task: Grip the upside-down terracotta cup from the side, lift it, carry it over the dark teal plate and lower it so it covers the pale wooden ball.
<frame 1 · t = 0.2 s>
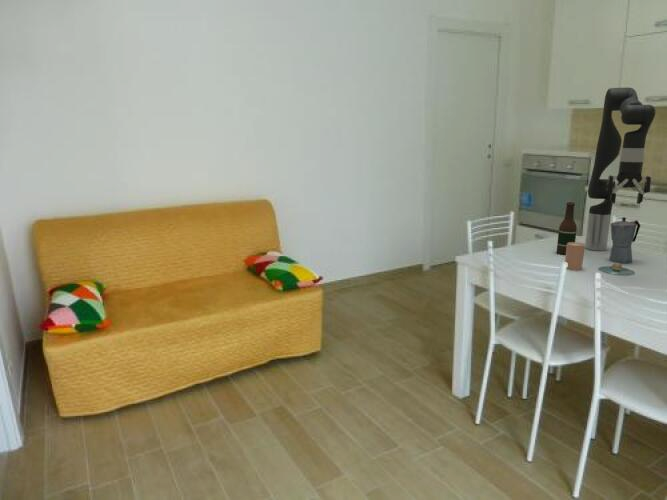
hand: (625, 203, 188), 29 cm above the table, tool pointing down, fingers open, 8 cm apart
beer bottle: (565, 254, 228), on the table
moka pot: (620, 262, 214), on the table
plate: (616, 272, 200), on the table
ball: (616, 270, 199), point 1 cm above the table, touching plate
cup: (572, 269, 204), on the table
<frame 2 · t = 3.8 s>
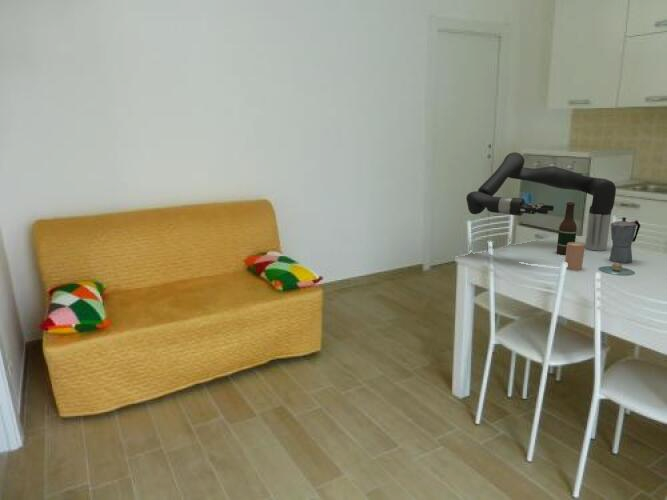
hand: (550, 209, 205), 24 cm above the table, tool horizontal, fingers open, 8 cm apart
nothing on the table moved.
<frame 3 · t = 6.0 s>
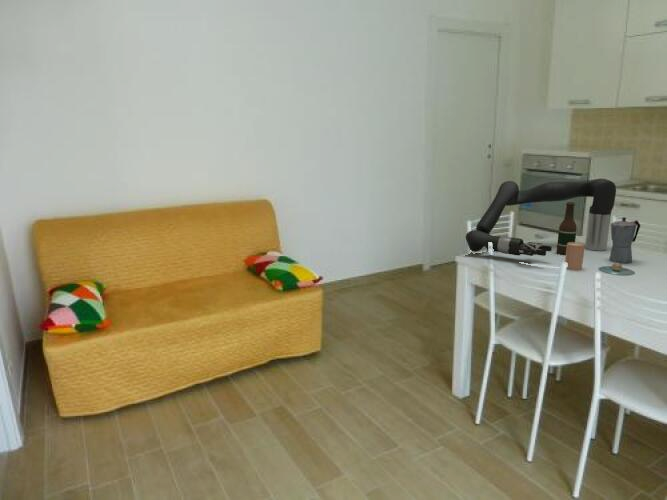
hand: (548, 251, 209), 6 cm above the table, tool horizontal, fingers open, 8 cm apart
nothing on the table moved.
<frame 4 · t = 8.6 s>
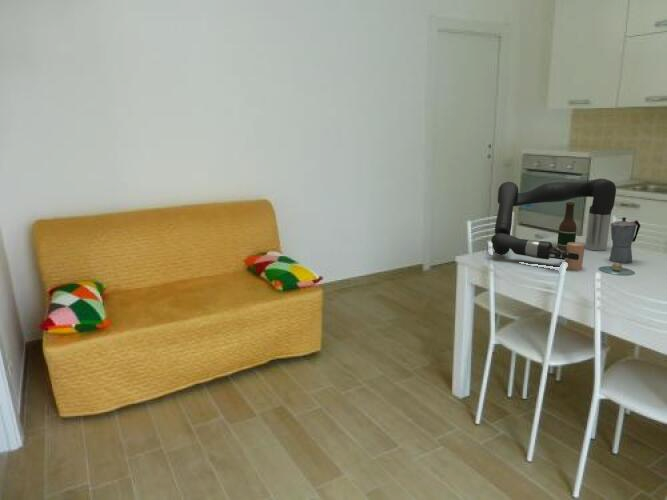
hand: (580, 255, 201), 7 cm above the table, tool horizontal, fingers closed on cup, 6 cm apart
cup: (572, 269, 204), on the table, touching gripper
everything else where it was.
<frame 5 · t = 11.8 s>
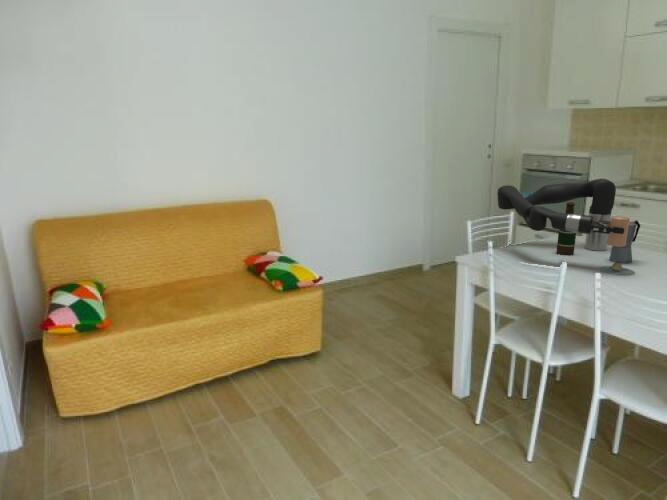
hand: (625, 229, 194), 18 cm above the table, tool horizontal, fingers closed on cup, 6 cm apart
cup: (615, 244, 197), point 12 cm above the table, touching gripper
everything else where it was.
when the fingers open (9 cm above the table, at t = 15.1 s): cup drops 1 cm, resting on plate.
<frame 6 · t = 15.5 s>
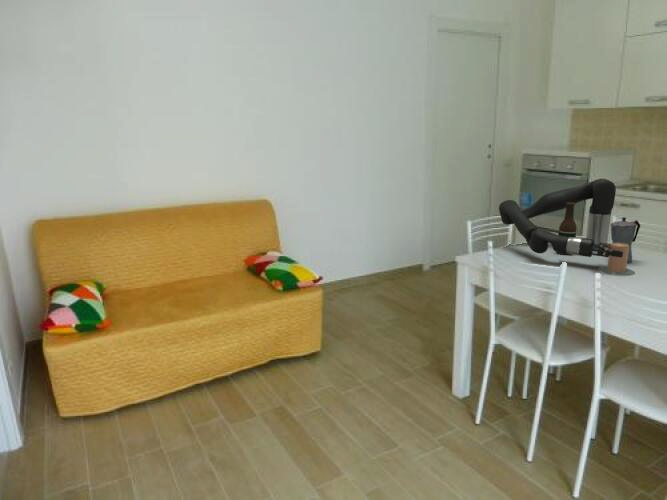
hand: (624, 252, 196), 9 cm above the table, tool horizontal, fingers open, 8 cm apart
cup: (616, 270, 199), point 1 cm above the table, touching plate
everything else where it was.
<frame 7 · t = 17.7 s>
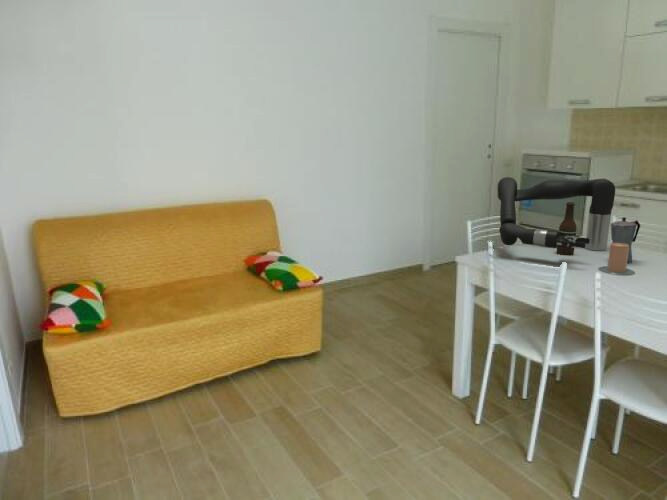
hand: (587, 243, 204), 11 cm above the table, tool horizontal, fingers open, 8 cm apart
nothing on the table moved.
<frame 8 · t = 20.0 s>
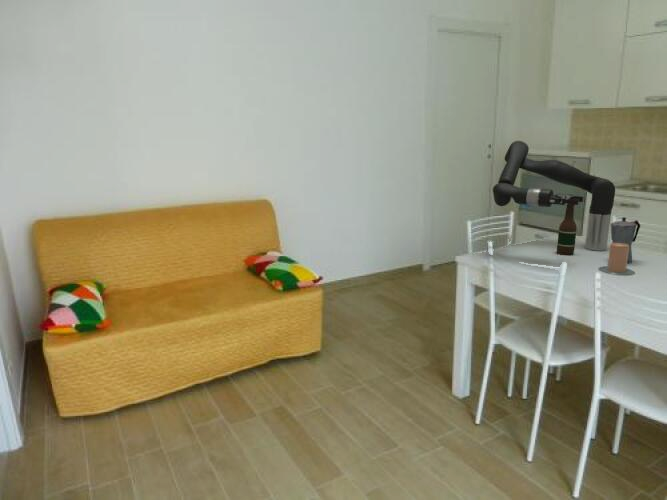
hand: (580, 200, 202), 28 cm above the table, tool horizontal, fingers open, 8 cm apart
nothing on the table moved.
at the end: cup inside the target area on the plate (0.1 cm from its centre), point 0.8 cm above the plate's base; cup 0.1 cm from the ball (horizontally); cup tilted 0° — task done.
